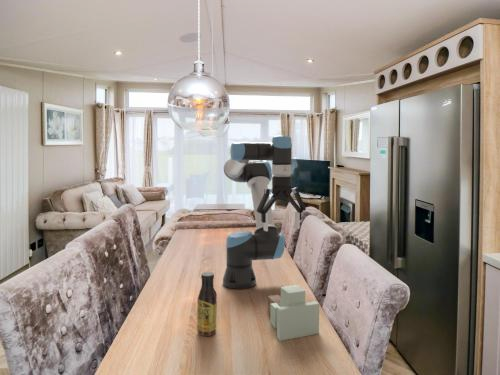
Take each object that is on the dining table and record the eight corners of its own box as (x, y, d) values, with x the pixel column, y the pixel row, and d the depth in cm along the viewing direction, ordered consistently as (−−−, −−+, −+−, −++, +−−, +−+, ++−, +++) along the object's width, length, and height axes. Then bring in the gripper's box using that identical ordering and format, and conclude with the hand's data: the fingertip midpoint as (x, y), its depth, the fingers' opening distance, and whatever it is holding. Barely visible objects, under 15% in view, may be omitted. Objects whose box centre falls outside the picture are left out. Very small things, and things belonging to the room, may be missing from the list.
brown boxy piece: (267, 311, 132) (267, 294, 131) (277, 310, 133) (277, 293, 132) (280, 326, 120) (280, 307, 120) (291, 324, 122) (291, 305, 121)
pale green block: (265, 324, 121) (265, 284, 120) (301, 317, 126) (301, 279, 125) (279, 340, 110) (279, 297, 109) (318, 333, 115) (319, 291, 114)
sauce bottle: (193, 333, 115) (192, 273, 114) (206, 326, 120) (206, 269, 119) (207, 339, 111) (206, 278, 110) (221, 331, 116) (220, 272, 115)
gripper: (255, 176, 130) (255, 233, 132) (314, 175, 139) (314, 228, 140) (248, 176, 137) (248, 229, 139) (305, 174, 146) (305, 225, 147)
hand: (281, 229), depth 140 cm, fingers open, 13 cm apart
